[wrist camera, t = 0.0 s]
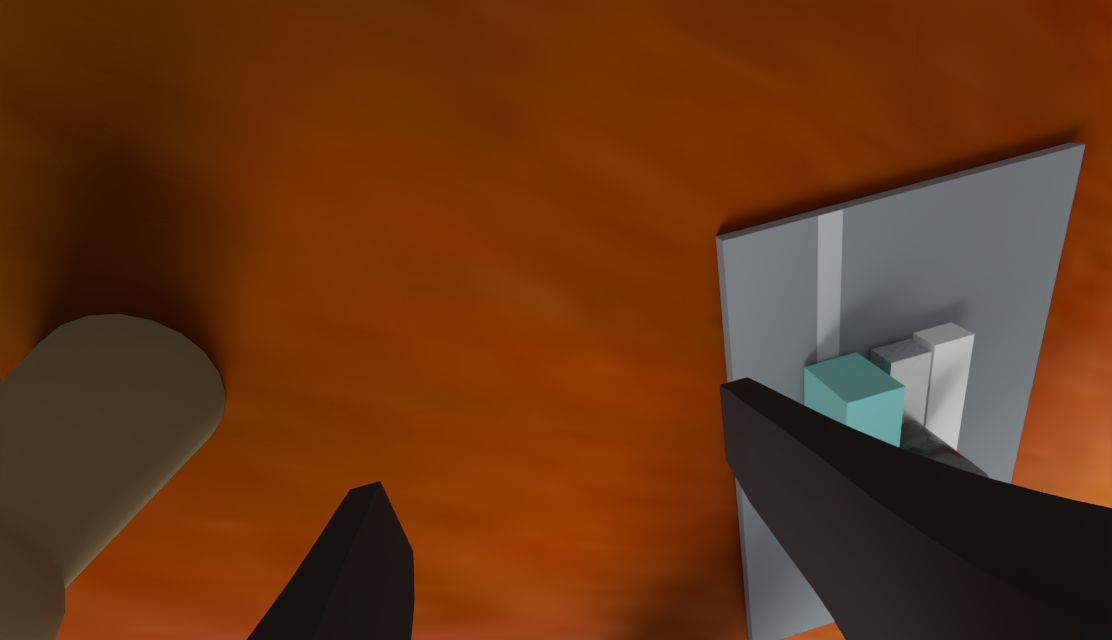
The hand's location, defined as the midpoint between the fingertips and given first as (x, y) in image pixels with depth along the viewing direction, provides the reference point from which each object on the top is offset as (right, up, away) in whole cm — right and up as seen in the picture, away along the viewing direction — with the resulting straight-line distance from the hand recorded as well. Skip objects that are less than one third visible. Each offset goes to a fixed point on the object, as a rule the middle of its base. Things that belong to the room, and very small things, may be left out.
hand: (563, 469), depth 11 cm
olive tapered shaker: (-15, +1, +8) cm, 17 cm away
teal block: (+12, 0, +13) cm, 18 cm away
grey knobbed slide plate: (+16, -3, +16) cm, 22 cm away
